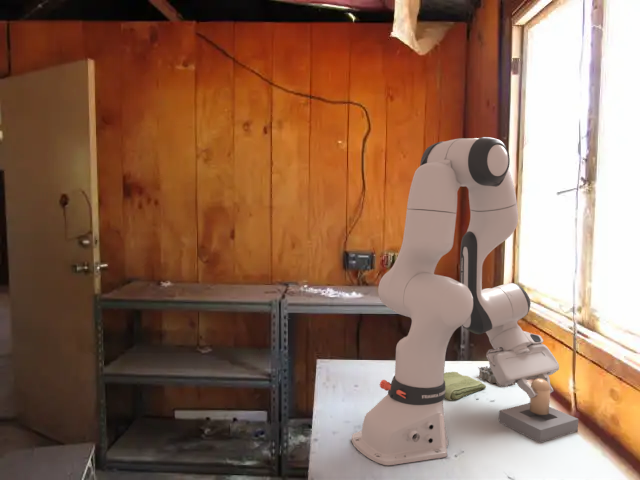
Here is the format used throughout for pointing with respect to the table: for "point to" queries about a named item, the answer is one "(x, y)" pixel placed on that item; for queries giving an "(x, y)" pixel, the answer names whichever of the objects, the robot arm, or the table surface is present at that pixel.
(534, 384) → the peach dome-topped peg
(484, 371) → the egg carton
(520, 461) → the table surface
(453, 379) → the washcloth
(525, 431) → the grey square peg hole
